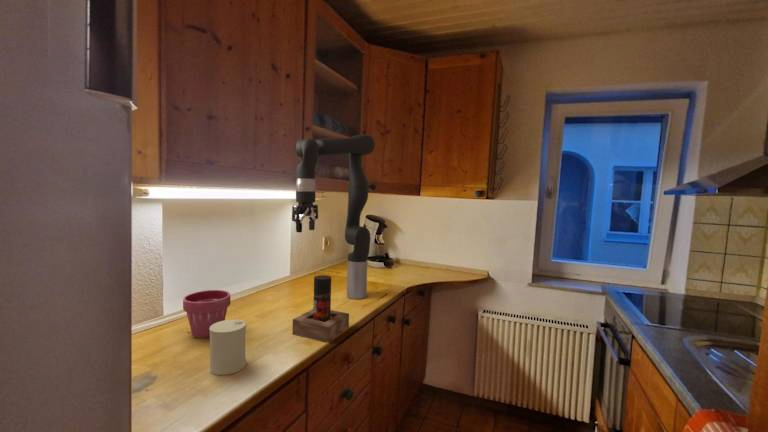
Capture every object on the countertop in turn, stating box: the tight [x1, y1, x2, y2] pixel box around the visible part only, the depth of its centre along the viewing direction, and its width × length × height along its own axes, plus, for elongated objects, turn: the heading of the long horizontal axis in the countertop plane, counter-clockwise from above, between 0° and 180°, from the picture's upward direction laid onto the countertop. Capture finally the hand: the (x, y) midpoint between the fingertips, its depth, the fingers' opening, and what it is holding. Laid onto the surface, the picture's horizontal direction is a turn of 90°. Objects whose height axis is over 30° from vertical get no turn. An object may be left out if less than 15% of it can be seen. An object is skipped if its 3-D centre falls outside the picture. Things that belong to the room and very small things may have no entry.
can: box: [208, 319, 247, 376], centre depth 93 cm, size 9×9×12 cm
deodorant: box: [312, 274, 332, 322], centre depth 119 cm, size 6×6×15 cm
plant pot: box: [182, 289, 231, 339], centre depth 114 cm, size 14×14×13 cm
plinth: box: [292, 308, 350, 343], centre depth 119 cm, size 14×14×5 cm
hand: (305, 231), depth 135 cm, fingers open, 8 cm apart
